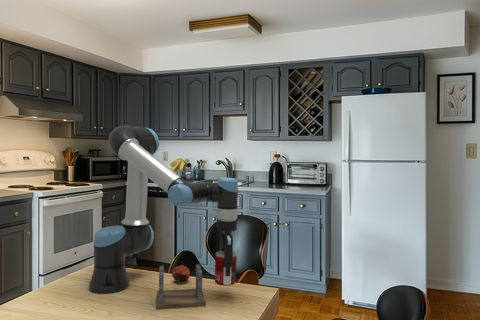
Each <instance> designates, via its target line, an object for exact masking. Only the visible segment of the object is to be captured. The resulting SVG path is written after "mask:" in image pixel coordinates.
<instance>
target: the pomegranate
mask: <svg viewBox="0 0 480 320" xmlns="http://www.w3.org/2000/svg"><path fill="white" fill-rule="evenodd" d="M190 276H191V271H190V269H189V268H188V267H187V266H185V264H184V263H182V264H180V265H177V266H176V267H174V268H173V269H172V272H171V277H172V278H173V279H174V281H175V282H177V285H179V284H180V282H181V283H182V282H183V283H186V282H188V281H189V279H190V278H191V277H190Z"/></svg>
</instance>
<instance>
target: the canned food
mask: <svg viewBox="0 0 480 320" xmlns="http://www.w3.org/2000/svg"><path fill="white" fill-rule="evenodd" d="M237 256H238V255H237V252H236V251H233V266H232V267H231V285H223V275H224V267H223V265H224V251H220V250H218V251H216V252H215V259H214V260H215V261H214V265H215V266H214V282H215V284H217V285H218V286H223V287H224V286H225V287H227V286H233V285H235V283H236V281H237V263H238V262H237V259H238V257H237Z"/></svg>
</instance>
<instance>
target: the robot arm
mask: <svg viewBox="0 0 480 320" xmlns="http://www.w3.org/2000/svg"><path fill="white" fill-rule="evenodd" d="M108 145H109V148H110V150H111V151H112V153H113V154H114V155H115V156H116V157H118V158H119V159H120V160H122V161H126V162H127V180H126V195H125V197H126V198H125V216H124V218H123V220H121V221H120V225H112V226H106V227H102V228H99V229H98V230H96V231H95V233H94V236H93V237H94V238H93V272H92V275H91V279H90V280H89V283H88V289H89V291H90V292H93V293H95V294H111V293H112V294H113V293H117V292H121V291H124V290H126V289H128V288H129V286H130V277H129V276H128V272H127V269H126V265H125V264H126V262H125V261H126V257H128V256H132V255H135V254H138V253H139V254H140V253H143V252H144V251H146V250H148V249H150V247H152V245H153V242H154V239H155V232H154V230H153V227H152V226H151V225H150V220H148V219H147V218H146V217H147V205H148V204H147V203H148V187H149V185H148V182H149V180H150V181H152V183H154V184H155V185H157V186H158V187H159V188H160V189H161V190H163V191H164V192H166V193H167V197H168V199H169V202H170V204H172V205H173V206H176V207H179V206H180V207H181V206H182V207H184V206H188V205H192V204H193V205H194V204H199V203H205V202H206V203H207V202H208V203H217V205H216V207H217V210H215V214H216V218H217V220H216V230H217V231H219V232H220V243H219V244H220V246H219V251H224V265H223V267H224V275H223V285H229V286H232V285H231V267H232V266H233V252H234V251H233V244H234V243H233V242H234V238H233V235H232V232H236V231H237V229H238V221H237V219H238V200H239V199H238V195H239V181H238V179H237V178H234V177H219V178H218V179H217V182H211V181H204V180H200V181H199V180H195V181H193V182H188V181H186V179H184V178H182V177H181V176H180V175H178V173H176V172H175V171H174V170H172V169H171V168H170V167H168V166H167V165H166V164H164V163H163V162H162V161H161V160H159V159H158V158H157V157H155V156H154V154H156V152H157V151H158V150H159V147H160V140H159V137H158V135H157V133H156V132H155V131H154V130H153V129H152V128H149V127H146V126H145V127H143V126H133V125H120V126H117V127H115V128H114V129H113V130H111V132H110V134H109V136H108ZM223 285H222V286H223Z"/></svg>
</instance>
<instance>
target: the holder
mask: <svg viewBox="0 0 480 320" xmlns="http://www.w3.org/2000/svg"><path fill="white" fill-rule="evenodd" d="M164 268H165V266H164V265H159V269H158V270H159V271H158V275H159V276H158V290H156V294H155V295H156V297H155V310H156V311H157V310H169V309H184V308H198V307H200V308H201V307H206V299H205V295H204V292H203V270H202V267H201V264H200V263H196V264H195V288H185V289H168V290H166V289H165V290H164V285H165V283H164V281H165V280H164Z"/></svg>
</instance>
